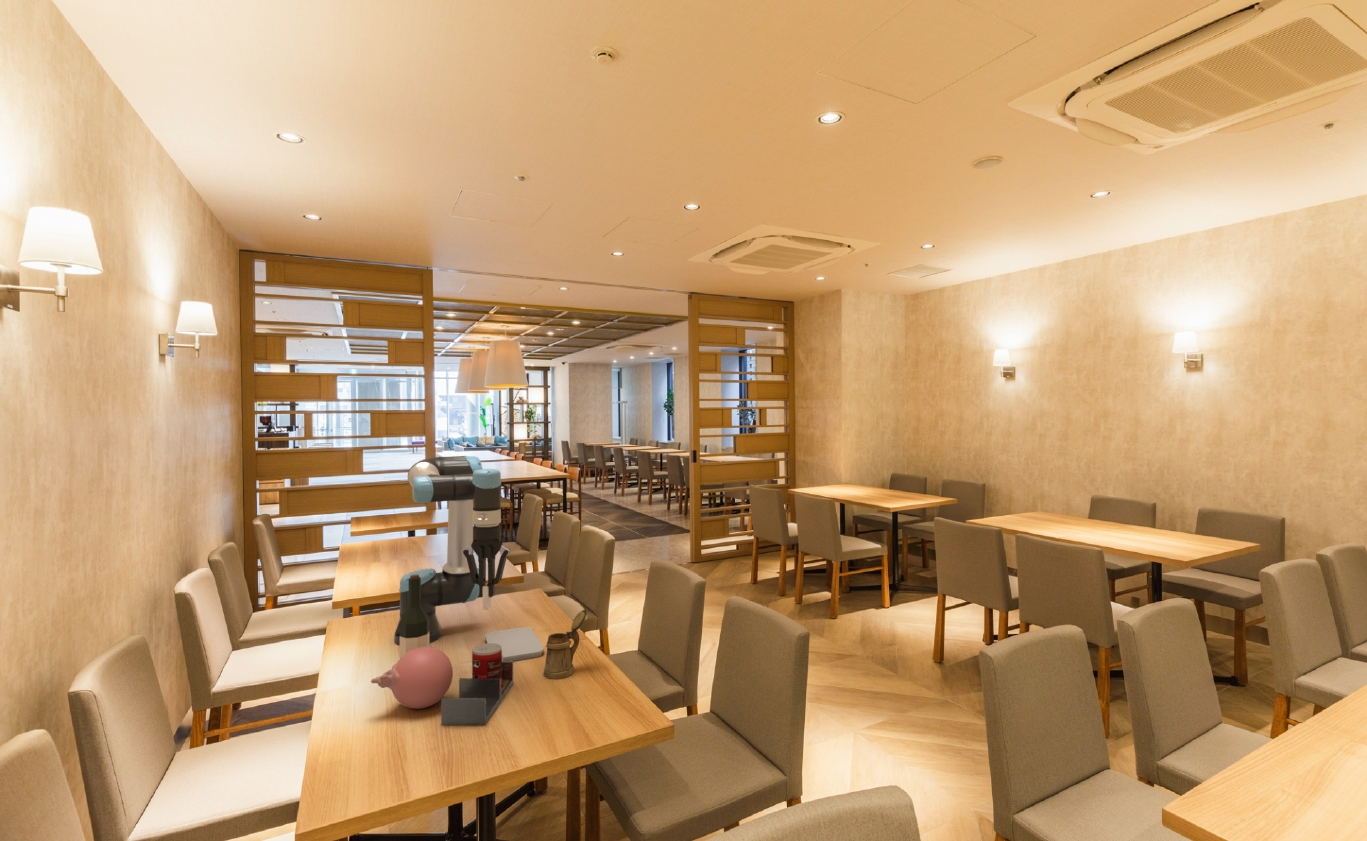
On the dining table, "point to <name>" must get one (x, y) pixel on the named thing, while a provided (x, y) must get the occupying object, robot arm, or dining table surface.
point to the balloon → (419, 677)
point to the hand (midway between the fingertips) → (486, 608)
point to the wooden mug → (563, 650)
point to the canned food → (487, 661)
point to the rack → (477, 698)
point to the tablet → (516, 643)
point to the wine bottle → (414, 620)
